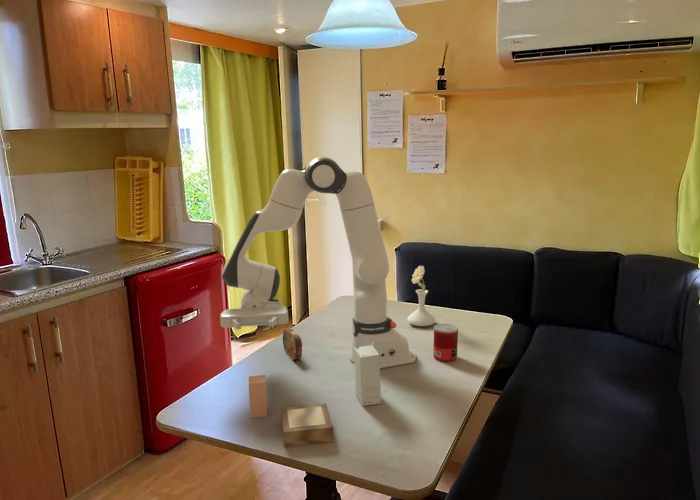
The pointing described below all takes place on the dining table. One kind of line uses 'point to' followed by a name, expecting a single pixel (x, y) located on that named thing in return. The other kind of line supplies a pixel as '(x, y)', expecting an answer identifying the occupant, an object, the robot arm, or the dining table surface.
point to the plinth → (306, 425)
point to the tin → (292, 344)
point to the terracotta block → (257, 396)
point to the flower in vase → (420, 302)
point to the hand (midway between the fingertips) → (254, 326)
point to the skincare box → (367, 375)
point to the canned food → (445, 342)
